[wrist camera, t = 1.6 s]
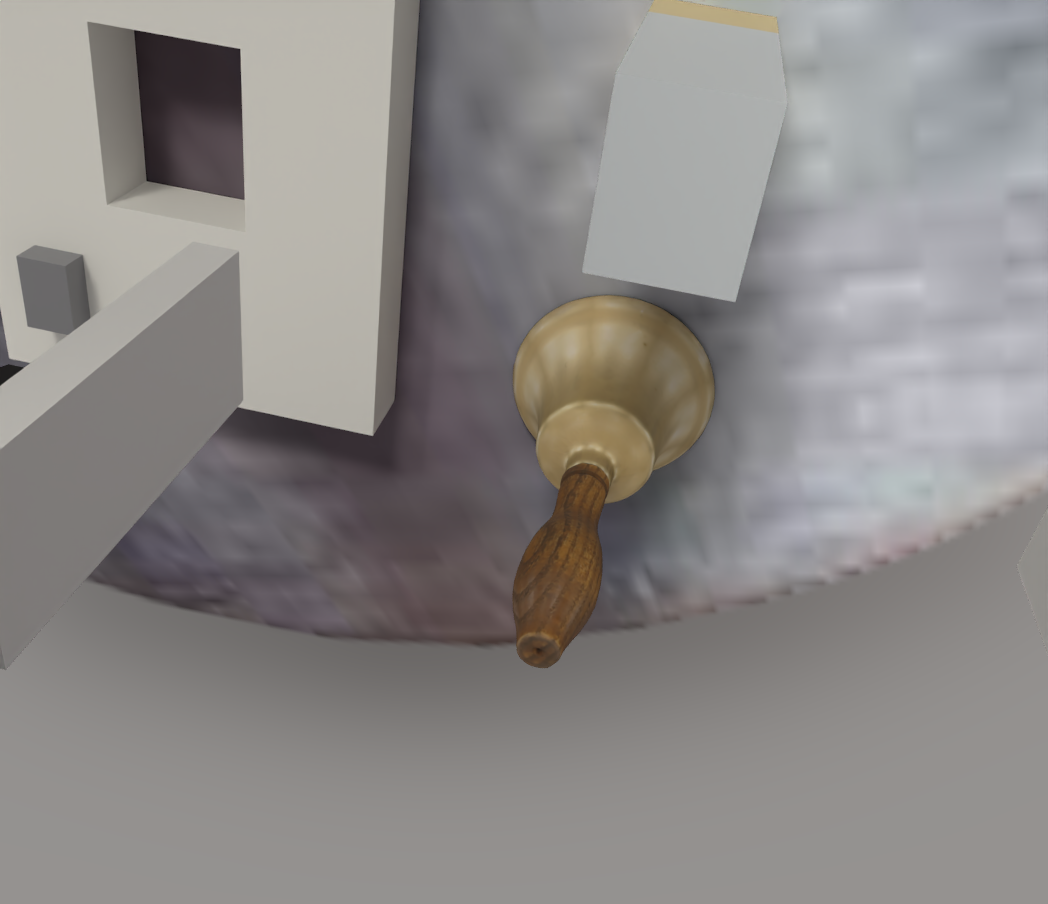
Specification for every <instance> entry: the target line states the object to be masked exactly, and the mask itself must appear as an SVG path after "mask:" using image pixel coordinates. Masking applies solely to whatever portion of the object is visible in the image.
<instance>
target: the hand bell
mask: <svg viewBox="0 0 1048 904" xmlns="http://www.w3.org/2000/svg"><path fill="white" fill-rule="evenodd" d="M513 391H514V397H515V401H516V405H517V408H518V411H519V413H520V415H521V417H522V419H523V421H524V423H525V425H526V426H527V428H528V430H529V431H530V433H531V434H532V435H533V436H534V438H535V439H536V454H537V458H538V462H539V465H540V467H541V469H542V471H543V473H544V475H545V476H546V478H547V479H548V480H549V481H550V482H551V483H552V484H553V485H554V486H555V487H556V488H557V489H558V490H559V493H558V498H557V502H556V506H555V510H554V513H553V515H552V517H551V518H550V519H549V520H548V521H547V522H546V523H545V524H544V525H543V526H542V527H541V529H540V530H539V531H538V532H537V533H536V534H535V536H534V537H533V539H532V540H531V542H530V544H529V545H528V547H527V549H526V550H525V553H524V555H523V557H522V560H521V562H520V564H519V567H518V570H517V573H516V576H515V580H514V587H513V613H514V620H515V624H516V632H517V643H516V647H517V653H518V655H519V657H520V658H521V659H522V660H523V661H524V662H525V663H527V664H529V665H531V666H534V667H538V668H548V667H550V666H552V665H553V664H554V663H556V662H557V661H558V660H559V659H560V657H561V655H562V653H563V651H564V650H565V648H566V647H567V646H568V645H569V643H570V642H571V641H572V640H573V639H574V638H575V637H576V636H577V634H578V633H579V632H580V631H581V630H582V628H583V627H584V625H585V624H586V623H587V621H588V619H589V618H590V616H591V614H592V612H593V610H594V608H595V605H596V602H597V598H598V594H599V589H600V585H601V578H602V549H601V544H600V540H599V537H598V533H597V525H598V521H599V518H600V515H601V512H602V509H603V506H604V504H606V503H612V502H617V501H620V500H623V499H625V498H627V497H629V496H631V495H632V494H634V493H635V492H637V491H638V490H639V489H640V488H641V487H642V486H643V485H644V484H645V483H646V482H647V481H648V479H649V477H650V475H651V473H652V471H654V470H656V469H659V468H661V467H663V466H665V465H667V464H669V463H671V462H672V461H674V460H676V459H677V458H679V457H680V456H681V455H683V454H684V453H685V452H686V451H687V450H688V449H690V448H691V447H692V445H693V444H694V443H695V442H696V441H697V439H698V438H699V437H700V436H701V434H702V433H703V431H704V429H705V427H706V425H707V423H708V421H709V418H710V416H711V412H712V408H713V404H714V396H715V387H714V378H713V373H712V369H711V365H710V361H709V359H708V357H707V355H706V353H705V351H704V349H703V347H702V346H701V344H700V343H699V341H698V340H697V338H696V337H695V336H694V335H693V333H692V332H691V331H690V330H689V329H688V328H687V327H686V326H685V325H684V324H683V323H682V322H680V321H679V320H678V319H677V318H675V317H674V316H672V315H671V314H669V313H668V312H666V311H665V310H663V309H661V308H659V307H657V306H655V305H653V304H650V303H647V302H644V301H642V300H639V299H634V298H629V297H623V296H613V295H605V296H593V297H586V298H582V299H578V300H574V301H571V302H569V303H566V304H564V305H562V306H560V307H558V308H556V309H554V310H553V311H551V312H550V313H548V314H547V315H545V316H544V317H543V318H542V319H541V320H540V321H538V322H537V323H536V324H535V325H534V327H533V328H532V329H531V330H530V331H529V333H528V334H527V336H526V337H525V339H524V341H523V342H522V344H521V346H520V348H519V351H518V353H517V357H516V360H515V363H514V368H513Z"/></svg>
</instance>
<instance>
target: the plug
mask: <svg viewBox="0 0 1048 904" xmlns="http://www.w3.org/2000/svg"><path fill="white" fill-rule="evenodd" d="M787 105H788V100H787V92H786V85H785V77H784V70H783V62H782V55H781V47H780V40H779V32H778V25H777V17H772V16H766V15H760V14H754V13H748V12H742V11H737V10H731V9H725V8H719V7H713V6H707V5H701V4H695V3H689V2H683V1H677V0H654V2H653V4H652V5H651V7H650V9H649V11H648V13H647V15H646V17H645V19H644V21H643V22H642V24H641V26H640V28H639V30H638V32H637V34H636V36H635V37H634V39H633V41H632V43H631V45H630V47H629V49H628V51H627V53H626V54H625V56H624V58H623V60H622V62H621V64H620V66H619V68H618V69H617V71H616V74H615V80H614V86H613V92H612V98H611V104H610V109H609V115H608V121H607V127H606V133H605V139H604V145H603V151H602V157H601V163H600V169H599V175H598V180H597V186H596V192H595V198H594V204H593V210H592V216H591V222H590V228H589V234H588V240H587V246H586V251H585V257H584V263H583V269H582V273H587V274H592V275H597V276H602V277H608V278H613V279H618V280H623V281H628V282H633V283H639V284H644V285H649V286H654V287H659V288H664V289H669V290H675V291H680V292H685V293H690V294H695V295H700V296H705V297H711V298H716V299H721V300H726V301H731V302H736V298H737V294H738V290H739V287H740V283H741V279H742V275H743V271H744V268H745V264H746V260H747V256H748V253H749V249H750V245H751V241H752V237H753V234H754V230H755V226H756V222H757V218H758V215H759V211H760V207H761V203H762V200H763V196H764V192H765V188H766V184H767V181H768V177H769V173H770V169H771V166H772V162H773V158H774V154H775V150H776V147H777V143H778V139H779V135H780V131H781V128H782V124H783V120H784V116H785V113H786V109H787Z"/></svg>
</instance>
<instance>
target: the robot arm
mask: <svg viewBox="0 0 1048 904" xmlns="http://www.w3.org/2000/svg"><path fill="white" fill-rule="evenodd" d="M242 401H243V371H242V337H241V303H240V269H239V251H237V250H232V249H227V248H222V247H217V246H212V245H207V244H202V243H197V242H192V243H191V244H189V245H188V246H187V247H185V248H184V249H183V250H181V251H180V252H179V253H177V254H176V255H175V256H173V257H172V258H171V259H169V260H168V261H167V262H165V263H164V264H163V265H161V266H160V267H159V268H157V269H156V270H155V271H153V272H152V273H150V274H149V275H148V276H146V277H145V278H144V279H142V280H141V281H140V282H138V283H137V284H136V285H134V286H133V287H132V288H130V289H129V290H128V291H126V292H125V293H124V294H122V295H121V296H120V297H118V298H117V299H116V300H114V301H113V302H112V303H110V304H109V305H108V306H106V307H105V308H104V309H102V310H101V311H100V312H98V313H97V314H96V315H94V316H93V317H92V318H90V319H89V320H88V321H86V322H85V323H84V324H82V325H81V326H80V327H78V328H77V329H76V330H74V331H73V332H72V333H70V334H69V335H68V336H66V337H65V338H64V339H62V340H61V341H59V342H58V343H57V344H55V345H54V346H53V347H51V348H50V349H49V350H47V351H46V352H45V353H43V354H42V355H41V356H39V357H38V358H37V359H35V360H34V361H33V362H31V363H30V364H29V365H27V366H26V367H25V368H23V367H18V366H14V365H9V364H8V365H6V366H3V367H0V668H1V669H5V670H6V669H7V668H8V667H9V666H10V665H11V663H12V662H13V661H14V660H15V659H16V658H17V657H18V655H19V654H20V653H21V652H22V651H23V650H24V648H26V646H27V645H28V644H29V643H30V642H31V641H32V640H33V638H34V637H35V636H36V635H37V634H38V633H39V632H40V631H41V629H42V628H43V627H44V626H45V625H46V624H47V623H48V621H49V620H50V619H51V618H52V617H53V616H54V615H55V613H56V612H57V611H58V610H59V609H60V608H61V607H62V606H63V604H64V603H65V602H66V601H67V600H68V599H69V598H70V596H71V595H72V594H73V593H74V592H75V591H76V590H77V588H78V587H79V586H80V585H81V584H82V583H83V582H84V581H85V579H86V578H87V577H88V576H89V575H90V574H91V573H92V572H93V570H94V569H95V568H96V567H97V566H98V565H99V564H100V562H101V561H102V560H103V559H104V558H105V557H106V556H107V555H108V553H109V552H110V551H111V550H112V549H113V548H114V547H115V545H116V544H117V543H118V542H119V541H120V540H121V539H122V538H123V536H124V535H125V534H126V533H127V532H128V531H129V530H130V528H131V527H132V526H133V525H134V524H135V523H136V522H137V521H138V519H139V518H140V517H141V516H142V515H143V514H144V513H145V511H146V510H147V509H148V508H149V507H150V506H151V505H152V503H153V502H154V501H155V500H156V499H157V498H158V497H159V496H160V494H161V493H162V492H163V491H164V490H165V489H166V488H167V486H168V485H169V484H170V483H171V482H172V481H173V480H174V479H175V477H176V476H177V475H178V474H179V473H180V472H181V471H182V469H183V468H184V467H185V466H186V465H187V464H188V463H189V462H190V460H191V459H192V458H193V457H194V456H195V455H196V454H197V452H198V451H199V450H200V449H201V448H202V447H203V446H204V445H205V443H206V442H207V441H208V440H209V439H210V438H211V437H212V435H213V434H214V433H215V432H216V431H217V430H218V429H219V428H220V426H221V425H222V424H223V423H224V422H225V421H226V420H227V418H228V417H229V416H230V415H231V414H232V413H233V412H234V410H235V409H236V408H237V407H238V406H239V405H240V404H241V403H242ZM1017 570H1018V573H1019V576H1020V578H1021V581H1022V584H1023V587H1024V589H1025V592H1026V595H1027V598H1028V601H1029V603H1030V606H1031V609H1032V612H1033V614H1034V617H1035V620H1036V623H1037V626H1038V628H1039V631H1040V634H1041V637H1042V640H1043V642H1044V645H1045V648H1046V651H1047V654H1048V507H1047V509H1046V511H1045V513H1044V515H1043V517H1042V519H1041V521H1040V523H1039V525H1038V526H1037V529H1036V530H1035V532H1034V534H1033V536H1032V538H1031V540H1030V542H1029V544H1028V546H1027V548H1026V550H1025V552H1024V553H1023V555H1022V557H1021V559H1020V561H1019V563H1018V565H1017Z"/></svg>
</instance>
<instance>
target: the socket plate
mask: <svg viewBox="0 0 1048 904" xmlns="http://www.w3.org/2000/svg"><path fill="white" fill-rule="evenodd" d="M419 5H420V0H0V309H1V314H2V320H3V326H4V331H5V337H6V343H7V348H8V354H9V358H10V359H14V360H19V361H24V362H28V363H31V362H33V361H34V360H35V359H37V358H38V357H39V356H41V355H42V354H43V353H45V352H46V351H47V350H49V349H50V348H51V347H53V346H54V345H55V344H57V343H58V342H59V341H61V340H62V339H64V338H65V337H66V336H68V335H69V334H70V333H72V332H73V331H74V330H76V329H77V328H78V327H80V326H81V325H82V324H84V323H85V322H86V321H88V320H89V319H90V318H92V317H93V316H94V315H96V314H97V313H98V312H100V311H101V310H102V309H104V308H105V307H106V306H108V305H109V304H110V303H112V302H113V301H114V300H116V299H117V298H118V297H120V296H121V295H122V294H124V293H125V292H126V291H128V290H129V289H130V288H132V287H133V286H134V285H136V284H137V283H138V282H140V281H141V280H142V279H144V278H145V277H146V276H148V275H149V274H150V273H152V272H153V271H155V270H156V269H157V268H159V267H160V266H161V265H163V264H164V263H165V262H167V261H168V260H169V259H171V258H172V257H173V256H175V255H176V254H177V253H179V252H180V251H181V250H183V249H184V248H185V247H187V246H188V245H189V244H191V243H192V242H197V243H202V244H207V245H212V246H217V247H222V248H227V249H232V250H237V251H239V269H240V303H241V337H242V371H243V401H242V403H241V404H240V405H239V406H238V407H239V408H244V409H249V410H254V411H258V412H263V413H268V414H272V415H277V416H282V417H286V418H291V419H296V420H300V421H305V422H310V423H315V424H319V425H324V426H329V427H333V428H338V429H343V430H347V431H352V432H357V433H361V434H366V435H371V436H373V435H374V433H375V432H376V430H377V428H378V427H379V425H380V424H381V422H382V420H383V419H384V417H385V415H386V414H387V412H388V410H389V409H390V407H391V406H392V404H393V402H394V401H395V385H396V369H397V353H398V338H399V322H400V306H401V290H402V274H403V258H404V242H405V227H406V211H407V195H408V179H409V163H410V147H411V132H412V116H413V100H414V84H415V68H416V52H417V37H418V21H419ZM134 30H138V31H143V32H149V33H154V34H160V35H166V36H171V37H177V38H182V39H188V40H193V41H199V42H205V43H210V44H216V45H221V46H227V47H233V48H238V49H240V51H241V85H242V120H243V155H244V189H245V200H241V199H236V198H231V197H226V196H220V195H215V194H210V193H205V192H200V191H195V190H189V189H184V188H179V187H174V186H169V185H164V184H158V183H153V182H148V181H147V179H146V167H145V155H144V143H143V131H142V119H141V108H140V96H139V84H138V72H137V60H136V48H135V36H134Z"/></svg>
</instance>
